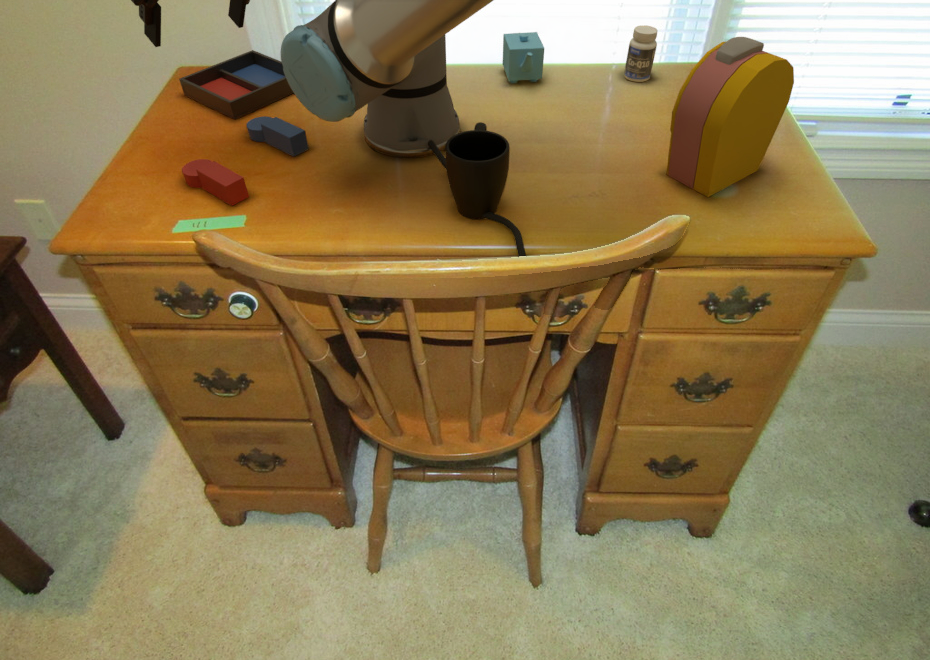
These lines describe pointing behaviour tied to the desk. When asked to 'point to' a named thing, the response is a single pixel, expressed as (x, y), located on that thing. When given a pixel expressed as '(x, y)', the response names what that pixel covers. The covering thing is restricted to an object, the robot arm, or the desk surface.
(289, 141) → the blue round-headed block
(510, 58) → the teapot
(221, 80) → the organizer
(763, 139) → the alarm clock
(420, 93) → the robot arm
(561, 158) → the desk surface
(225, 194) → the red rounded-end block
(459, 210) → the mug
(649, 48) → the pill bottle
